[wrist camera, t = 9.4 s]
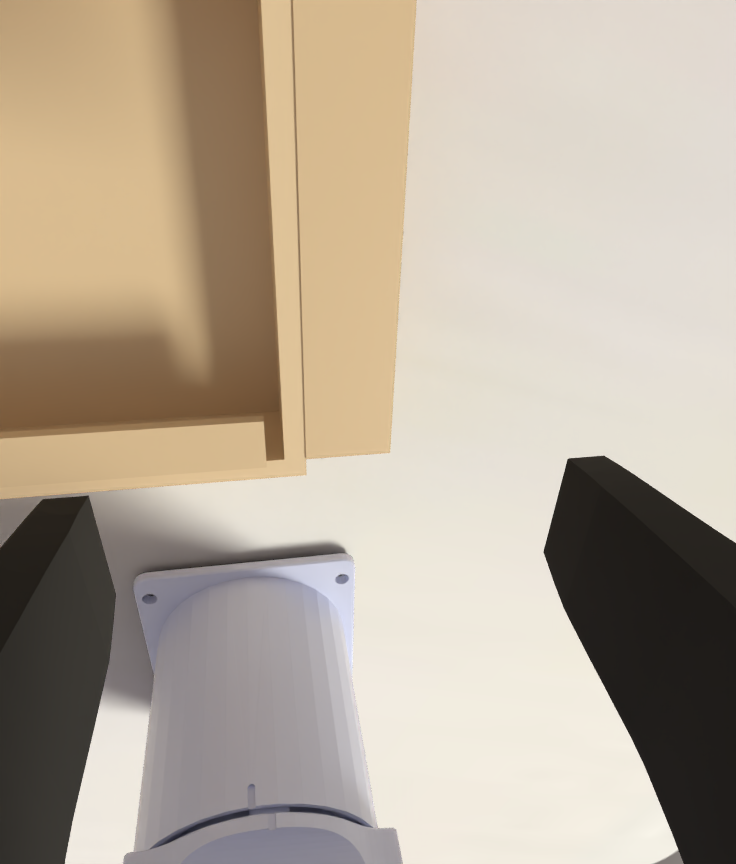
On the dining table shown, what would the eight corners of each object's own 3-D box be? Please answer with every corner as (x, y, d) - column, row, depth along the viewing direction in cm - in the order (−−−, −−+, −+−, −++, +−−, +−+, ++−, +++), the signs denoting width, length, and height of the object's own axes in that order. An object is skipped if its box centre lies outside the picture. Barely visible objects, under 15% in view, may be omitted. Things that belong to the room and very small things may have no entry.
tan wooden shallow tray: (371, 414, 22) (390, 474, 19) (-208, 452, 19) (-282, 528, 16) (392, -161, 14) (431, -198, 11) (-593, -233, 11) (-860, -306, 8)
